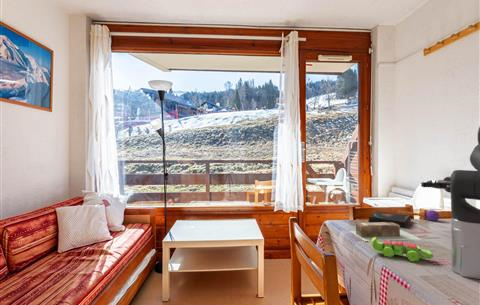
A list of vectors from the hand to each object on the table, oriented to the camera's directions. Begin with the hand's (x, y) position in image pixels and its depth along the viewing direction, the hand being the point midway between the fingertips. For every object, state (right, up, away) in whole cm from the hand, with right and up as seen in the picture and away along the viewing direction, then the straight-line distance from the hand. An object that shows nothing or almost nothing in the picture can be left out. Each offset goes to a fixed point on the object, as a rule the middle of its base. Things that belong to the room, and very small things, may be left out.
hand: (422, 184), depth 122 cm
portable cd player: (-3, -24, +21) cm, 32 cm away
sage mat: (-18, -24, -1) cm, 30 cm away
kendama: (+18, -23, +29) cm, 41 cm away
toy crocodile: (-25, -24, -24) cm, 42 cm away
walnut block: (-13, -21, 0) cm, 24 cm away
